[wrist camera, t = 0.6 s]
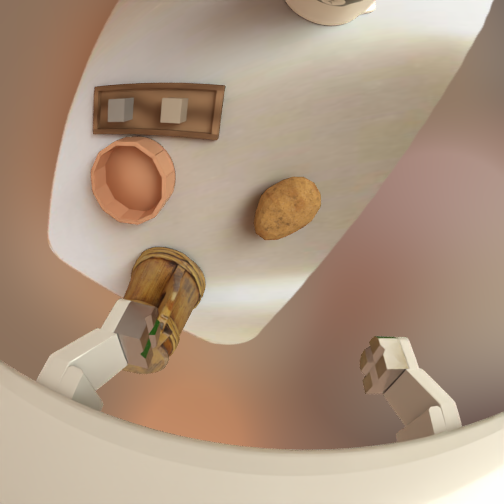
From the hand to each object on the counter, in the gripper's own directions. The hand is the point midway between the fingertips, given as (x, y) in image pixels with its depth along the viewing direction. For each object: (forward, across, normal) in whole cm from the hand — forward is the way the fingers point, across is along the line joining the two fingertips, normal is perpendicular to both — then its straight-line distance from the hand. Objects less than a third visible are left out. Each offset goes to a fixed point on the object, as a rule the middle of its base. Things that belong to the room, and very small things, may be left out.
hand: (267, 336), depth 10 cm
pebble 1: (+43, +29, -3) cm, 51 cm away
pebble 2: (+43, +18, -3) cm, 46 cm away
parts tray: (+43, +23, -3) cm, 49 cm away
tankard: (+44, +18, +34) cm, 58 cm away
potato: (+44, -4, +12) cm, 45 cm away
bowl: (+43, +26, +11) cm, 51 cm away
